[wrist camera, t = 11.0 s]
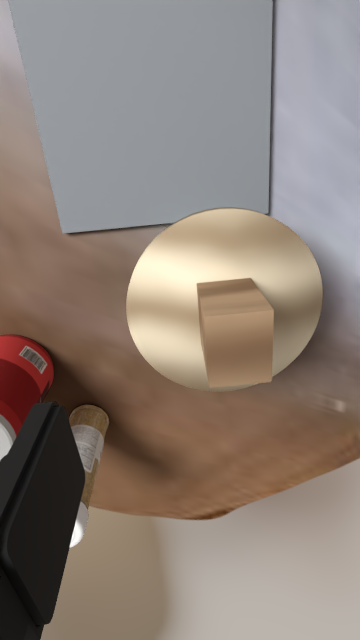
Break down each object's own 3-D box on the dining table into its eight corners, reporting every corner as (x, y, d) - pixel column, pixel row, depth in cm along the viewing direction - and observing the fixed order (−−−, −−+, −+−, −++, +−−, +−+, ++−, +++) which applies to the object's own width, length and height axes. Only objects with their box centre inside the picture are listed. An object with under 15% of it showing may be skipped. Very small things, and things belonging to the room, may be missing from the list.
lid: (112, 218, 24) (91, 239, 17) (324, 196, 24) (384, 209, 17) (142, 390, 30) (135, 453, 24) (309, 374, 30) (349, 433, 24)
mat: (0, -43, 22) (-4, -48, 22) (271, -71, 22) (274, -77, 22) (64, 232, 30) (62, 233, 29) (266, 212, 30) (268, 213, 29)
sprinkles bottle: (98, 438, 40) (68, 558, 28) (63, 423, 39) (15, 541, 27) (116, 412, 39) (93, 527, 27) (80, 396, 38) (38, 508, 25)
